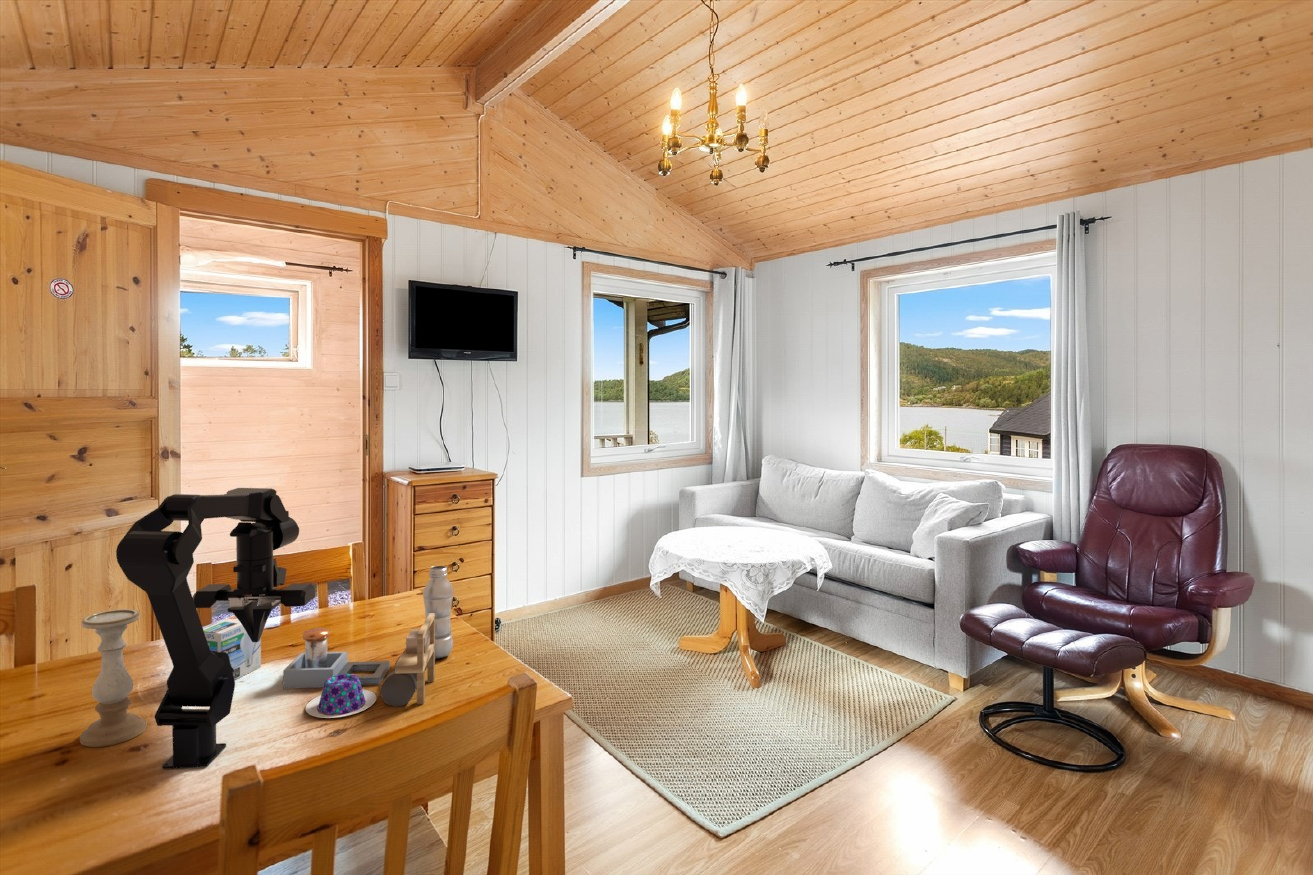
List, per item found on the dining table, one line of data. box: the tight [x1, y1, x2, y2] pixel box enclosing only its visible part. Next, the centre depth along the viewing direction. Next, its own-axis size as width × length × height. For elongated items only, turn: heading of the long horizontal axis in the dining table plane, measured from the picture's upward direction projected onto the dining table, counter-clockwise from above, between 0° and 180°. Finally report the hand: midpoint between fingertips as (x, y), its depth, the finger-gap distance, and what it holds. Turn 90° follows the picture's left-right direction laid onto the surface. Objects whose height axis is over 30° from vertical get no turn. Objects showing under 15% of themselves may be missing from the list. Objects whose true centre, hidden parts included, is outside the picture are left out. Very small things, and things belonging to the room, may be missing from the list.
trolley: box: [379, 613, 436, 707], centre depth 133 cm, size 12×8×14 cm, turn 8°
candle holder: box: [79, 608, 148, 748], centre depth 114 cm, size 9×9×20 cm
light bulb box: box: [202, 614, 262, 681], centre depth 139 cm, size 11×7×11 cm, turn 169°
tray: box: [282, 651, 349, 690], centre depth 138 cm, size 9×9×4 cm
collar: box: [338, 660, 391, 686], centre depth 140 cm, size 8×8×2 cm
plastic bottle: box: [422, 565, 454, 660], centre depth 151 cm, size 6×7×20 cm
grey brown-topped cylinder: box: [302, 627, 330, 668], centre depth 138 cm, size 5×5×9 cm
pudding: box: [305, 673, 377, 719], centre depth 127 cm, size 12×12×5 cm
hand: (256, 641), depth 124 cm, fingers closed
